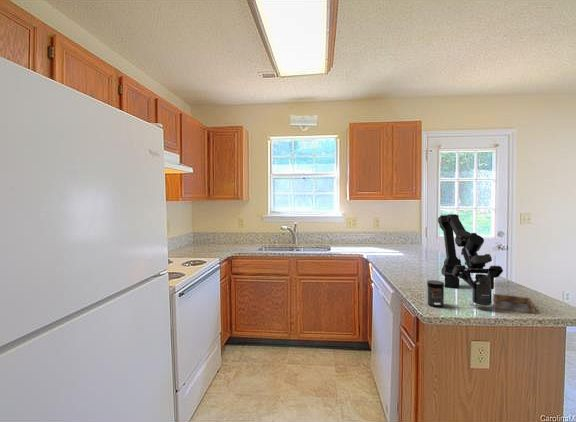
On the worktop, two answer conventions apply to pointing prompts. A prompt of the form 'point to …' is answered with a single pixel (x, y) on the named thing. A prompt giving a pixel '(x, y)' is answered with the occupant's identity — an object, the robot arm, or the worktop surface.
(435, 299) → the supplement container
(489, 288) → the supplement bottle
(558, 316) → the worktop surface
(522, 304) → the bay
